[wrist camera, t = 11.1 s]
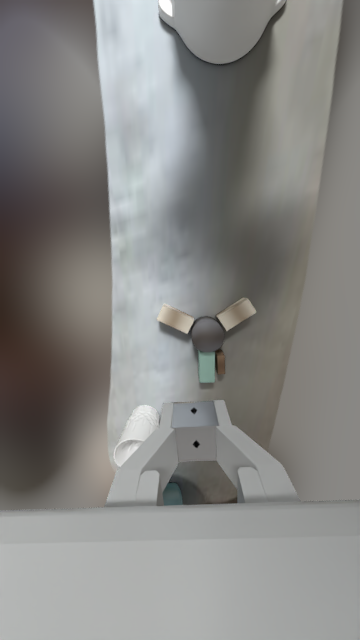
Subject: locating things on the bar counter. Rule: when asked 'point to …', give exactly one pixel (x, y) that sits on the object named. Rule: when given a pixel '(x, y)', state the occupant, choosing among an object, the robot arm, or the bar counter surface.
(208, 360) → the green rectangular block
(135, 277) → the bar counter surface
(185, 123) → the bar counter surface
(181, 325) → the stool base
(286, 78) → the bar counter surface
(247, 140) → the bar counter surface
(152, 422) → the white cup
